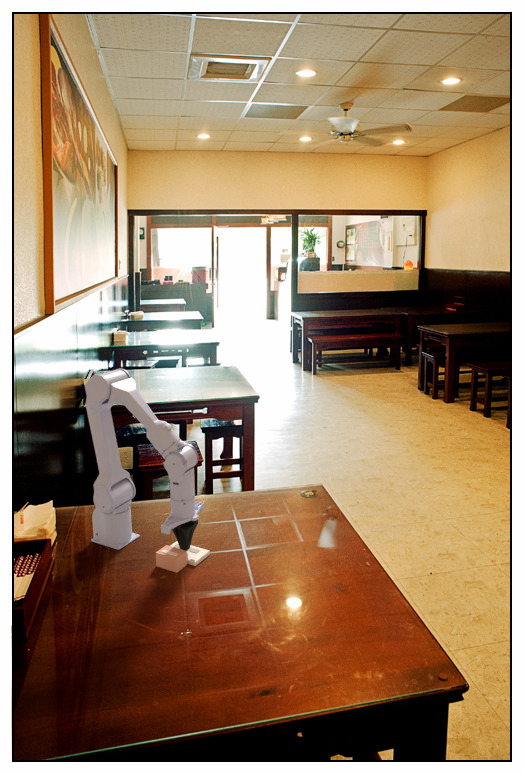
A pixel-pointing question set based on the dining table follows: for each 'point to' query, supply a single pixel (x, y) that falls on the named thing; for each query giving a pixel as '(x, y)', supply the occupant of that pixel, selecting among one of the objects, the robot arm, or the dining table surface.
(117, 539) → the robot arm
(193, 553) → the white slotted panel
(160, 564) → the pink rectangular block
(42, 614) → the dining table surface
